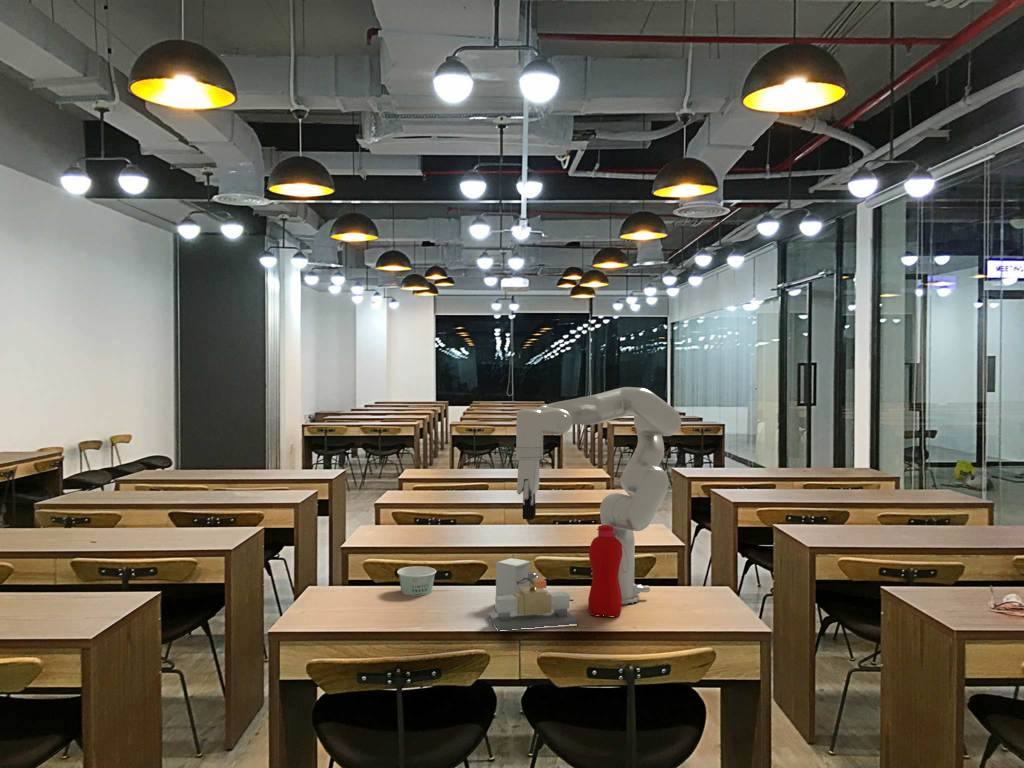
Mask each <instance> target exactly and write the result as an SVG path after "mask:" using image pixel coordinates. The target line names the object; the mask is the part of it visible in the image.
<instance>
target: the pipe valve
mask: <svg viewBox="0 0 1024 768" xmlns="http://www.w3.org/2000/svg"><path fill="white" fill-rule="evenodd" d="M494 597H495V598H494V601H495V607H494V608H495V611H496V613H497V612H498V617H499V619H500V620H501V621H510V612H517V614H518V615H521V614H524V615H536V614H546V613H550V612H551V610H553V609H554V613H555V614H556V615H557V616H558V617H567V611H568V609H570V608H571V606H570V604H571V603H570V602H571V601H570V598H571V597H570V594H569V593H567V591H559V592H557V591H556V592H549V591H548V590H546V589H545V588H540V589H537V588H536V587H535V586H534V583H533V582H532V581H530V587H519V592H514V595H506V596H496V595H495V596H494Z"/></svg>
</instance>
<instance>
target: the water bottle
mask: <svg viewBox="0 0 1024 768" xmlns="http://www.w3.org/2000/svg"><path fill="white" fill-rule="evenodd" d="M596 530H597V531H598V533H597V535H598V536H596V537H593V539H592V541H591V543H590V545H589V549H588V558H589V563H590V568H591V572H592V573H591V574H592V575H591V576H592V581H591V585H590V589H589V593H588V594H589V595H588V598H587V601H588V603H587V609H588V613H589V614H590V615H591V614H592V615H591V616H593V615H599V616H598V617H601V616H603V615H604V616H616V617H618V616H620V615H621V612H622V607H623V604H622V596H621V591H620V585H619V580H618V573H619V567H620V562H621V558H622V546H623V545H622V544H621V543H620V541H619V540H618V539H617V538H616V536H615V535H616V534H615V533H614V528H613V527H612V526H609V525H602V524H600V525H598V528H596ZM624 550H625V548H624ZM625 553H626V551H625ZM626 557H627V555H626ZM627 562H628V560H627ZM622 571H623V570H622ZM627 571H628V570H627ZM623 572H624V571H623ZM624 573H626V572H624Z"/></svg>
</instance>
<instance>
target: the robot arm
mask: <svg viewBox="0 0 1024 768" xmlns="http://www.w3.org/2000/svg"><path fill="white" fill-rule="evenodd" d="M628 416H629V417H631V416H632V417H633V423H634V427H635V430H636V434H637V445H636V447H635V450H634V451H633V453H632V456H631V458H630V459H629V461H628V463H627V464H626V467H625V468H624V469H623V472H622V474H621V476H620V486H621V488H622V489H623V491H625V492H627V493H629V494H632V496H631V495H628V494H623V493H619V492H618V493H617V492H615V493H609V494H608V495H606V496H605V497H604V498H603V499H602V501H601V503H600V505H599V518H600V523H601V525H609V526H612V527H613V528H614V533H615V534H616V535H615V536H616V538H617V539H618V540H619V541H620V543H621V544H622V545H623V546H622V558H621V562H620V567H619V573H618V580H619V585H620V591H621V596H622V605H629V604H628V603H632V604H634V603H633V602H636V603H637V602H639V601H638V600H640V594H641V593H649V592H650V590H651V589H650V586H649V585H642V584H636V583H635V557H636V556H635V554H636V553H635V552H636V551H635V547H636V545H635V544H636V543H635V542H636V540H635V533H634V532H641V531H643V530H646V528H648V527H649V526H650V524H651V523H652V521H653V520H654V518H655V516H656V514H657V512H658V510H659V509H660V507H661V505H662V503H663V501H664V499H665V497H666V496H667V495H666V494H667V493H668V490H669V477H668V474H667V472H666V471H665V470H664V469H663V468H661V467H660V465H661V462H662V460H663V458H664V455H665V444H664V439H663V437H671V436H673V435H676V434H677V433H678V432H679V430H680V428H681V425H682V418H681V416H680V414H679V412H678V410H677V409H675V408H674V407H673V406H671V404H670V403H668V402H666V401H665V400H663V399H662V398H661V397H659V396H658V395H656V394H655V392H653V391H651V390H649V389H647V388H644V387H632V386H623V387H619V388H618V387H617V388H614V389H612V390H611V389H610V390H607V391H604V392H601V393H600V392H598V393H597V394H591V395H587V396H581V397H577V398H572V399H567V400H561V401H556V402H551V403H549V404H543V405H541V406H537V408H522V409H519V410H518V411H517V412H516V429H515V430H516V441H515V442H516V443H515V444H516V446H515V448H516V450H515V452H516V453H515V455H516V456H515V458H516V459H517V460H518V465H517V467H518V468H517V484H516V486H517V487H516V488H517V489H516V494H517V495H521V494H522V519H523V520H532V521H533V520H535V518H536V516H537V515H536V513H537V511H536V505H537V504H536V495H537V494H536V493H537V492H538V491H539V489H540V460H543V459H544V435H555V436H561V435H564V434H566V433H568V432H569V431H570V429H571V428H572V426H573V425H576V426H577V425H581V426H582V425H583V426H587V425H588V426H590V425H598V424H602V423H605V422H608V421H611V420H612V421H613V420H615V419H621V418H623V417H628ZM624 548H625V550H624ZM625 551H626V553H625ZM626 555H627V557H626ZM627 560H628V562H627ZM622 570H623V571H624V572H626V573H624V572H623V571H622ZM627 570H628V571H627Z"/></svg>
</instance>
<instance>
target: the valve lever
mask: <svg viewBox="0 0 1024 768" xmlns="http://www.w3.org/2000/svg"><path fill="white" fill-rule="evenodd" d="M528 581H532V582H533V583H534V586H535V587H536V588H537V589H540V588H543V589H547V580H546V579H545V578H543V577H542V578H540V577H539V573H538V572H536V571H535V572H534V571H533V572H530V573H528Z"/></svg>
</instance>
